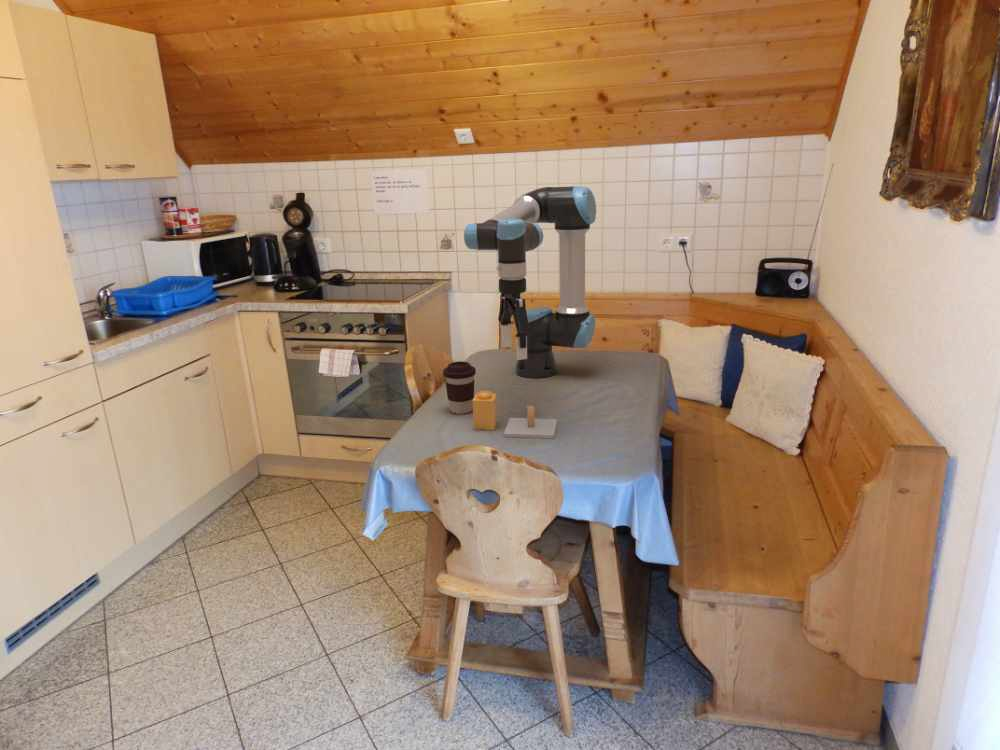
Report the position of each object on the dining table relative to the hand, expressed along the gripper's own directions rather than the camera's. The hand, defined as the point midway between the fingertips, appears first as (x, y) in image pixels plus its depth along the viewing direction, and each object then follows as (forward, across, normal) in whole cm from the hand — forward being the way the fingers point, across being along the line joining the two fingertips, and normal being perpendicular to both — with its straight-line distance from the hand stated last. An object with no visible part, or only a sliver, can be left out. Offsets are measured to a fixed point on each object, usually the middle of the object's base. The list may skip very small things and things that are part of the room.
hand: (514, 352), depth 190 cm
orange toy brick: (+22, -4, -8) cm, 24 cm away
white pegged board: (+22, +4, +3) cm, 23 cm away
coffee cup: (+22, -19, -12) cm, 31 cm away
